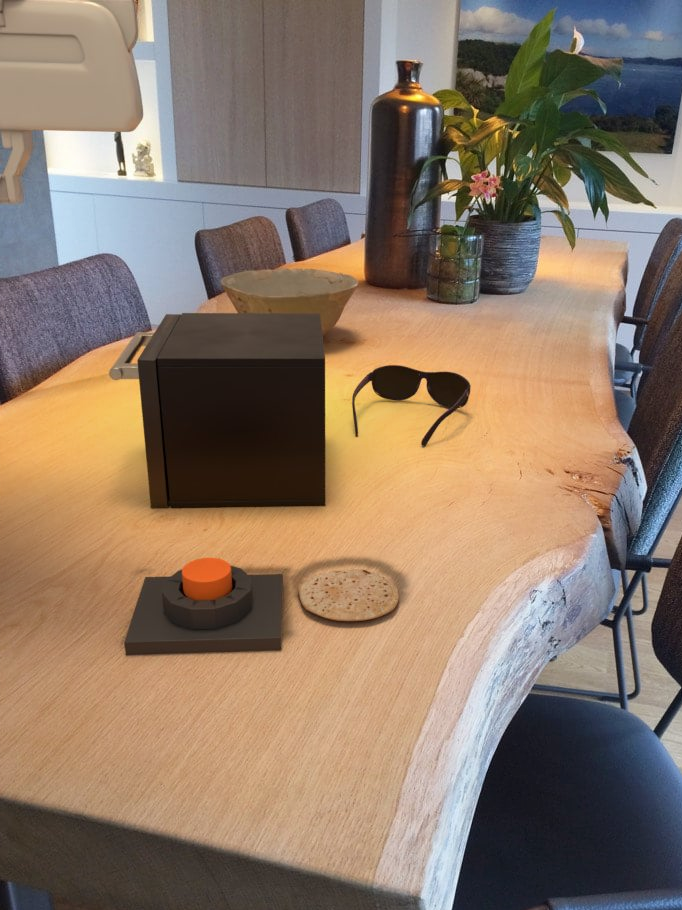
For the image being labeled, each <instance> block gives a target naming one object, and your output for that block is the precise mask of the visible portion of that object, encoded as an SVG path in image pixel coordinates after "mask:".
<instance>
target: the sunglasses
mask: <svg viewBox="0 0 682 910" xmlns="http://www.w3.org/2000/svg"><path fill="white" fill-rule="evenodd" d="M423 379H424V380H426V391H427V393H428V395H429V396H430V398H431V399H432V400H433V401H434V402H435V403H436V404H438V406H441V407H444V408H448V409H447V410H446V411H445V412H443V413H442V414H441V415H440V416H439V417H438V418H437V419H436V420H435V421H434V423H433V424H432V425H431V426H430V428H429V429H428V430H427V432H426V434H424V436H423V438H422V439H421V442H420V443H421V446H422V447H426V446H427V445H428V443H429V441H430V440H431V438H432V437H433V435H434V433H435V431H436V430H437V429H438V427H439V426H440V424H441V423H443V421H444V420H446V419H447V418H448V417H449V416H450V415H451V414H453V413H454V412H455V411H457V410H458V409H460V408H463V407H465V406H466V405H467V403H468V402H469V397H470V394H471V387H472V385H471V384H470V381H469V380H468V379H467V378H466V377H465V376H463V375H461V374H459V373H457V372H453V371H422V370H418V369H415V368H411V367H409V366H404V365H397V364H388V365H383V366H379V367H376V368H375V369H373V371H371V372H369V373H368V374H366V376H365V377H364V378H363V379H362V380H361V381H360V382H359V383H358V384H357V386H356V387H355V389H354V391H353V393H352V396H351V397H352V399H351V407H352V416H353V417H352V418H353V425H354V433H355V434H354V435H355V437H358V436H359V425H358V417H357V411H356V397H357V396H358V394H359V393H360V392H361V390H362V389H363V388H364V387H365V386H367V385H368V384H369V383H370V382H371V387H372V390H373V392H374V393H375V395H377V396H378V397H380V398H382V399H385V400H390V401H396V402H397V401H399V402H400V401H405V400H408V399H411V398H412V397H414V396H415V395H416V394H417V393H418V391H419V389H420V386H421V383H422V380H423Z"/></svg>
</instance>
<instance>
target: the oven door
mask: <svg viewBox="0 0 682 910" xmlns="http://www.w3.org/2000/svg"><path fill="white" fill-rule="evenodd" d="M181 314H182V313H181ZM181 314H180V313H179V314H178V313H176V314H175V313H166V314H165V315H164V317H163V319H162V320H161V322H160V323H159V325H158V327H156V330H155V331H154V332H143V331H137V332H135V334H134V335H133V336H132V338H131V339H130V341H129V342H128V344H127V345H126V347H125V348H124V349H123V351H122V352H121V353H120V355H119V357H118V358H117V360H116V361H115V362H114V364H113V365H112V366H111V368H110V369H109V371H108V376H109V377H110V379H111V380H113V381H118V380H138V383H139V393H140V404H141V405H140V406H141V415H142V416H141V417H142V426H143V427H142V428H143V436H144V447H145V459H146V470H147V481H148V491H149V502H150V509H168V508H169V506H170V498H169V487H168V476H167V465H166V454H165V443H164V432H163V421H162V410H161V399H160V388H159V378H158V366H157V357H158V356H159V354H160V352H161V350H162V348H163V347H164V345H165V343H166V341H167V339H168V338H169V336H170V334H171V332H172V330H173V329H174V327H175V325H176V323H177V321H178V320H179V318H180V316H181ZM142 347H144V349H143V350H142V351H141V353H140V355H139V356H138V358H137V360H136V361H137V362H135V363H133V360H134V359H135V358H136V356H137V354H138V353H139V351H140V350H141V348H142Z"/></svg>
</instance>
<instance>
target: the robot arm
mask: <svg viewBox="0 0 682 910" xmlns="http://www.w3.org/2000/svg"><path fill="white" fill-rule="evenodd" d="M138 38H139V21H138V10H137V4H136V1H135V0H0V137H1V143H2V147H3V148H4V149H12V150H11V152H10V154H9V157H8V160H7V163H6V165H5V168H4V171H3V173H0V204H17V205H18V204H22V203H24V200H25V196H24V189H23V182H22V181H23V179H22V175H23V174H24V172H25V169H26V167H27V164H28V162H29V160H30V157H31V155H32V153H33V151H34V148H35V146H34V140H33V132H32V131H54V132H55V131H57V132H58V131H60V132H99V133H100V132H102V133H103V132H104V133H108V132H109V133H131V132H134V131H135V130H137V128H138V127H139V125H140V124H141V122H142V120H143V118H144V105H143V98H142V92H141V91H142V90H141V86H140V80H139V75H138V70H137V66H136V65H137V64H136V60H135V56H134V53H133V49H134V48H135V46H136V44H137V42H138Z"/></svg>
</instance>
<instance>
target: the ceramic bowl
mask: <svg viewBox="0 0 682 910" xmlns="http://www.w3.org/2000/svg"><path fill="white" fill-rule="evenodd" d="M220 284H221V286H222V288H223V290H224V292H225V293H226V295H227V297H228V299H229V300H230V302H231V303H232V306H233V307H234V309H235V310H236V313H297V314H320V317H321V326H322V335H323V337H324V336H325V335H327V334H328V333H329V331H330V330H332V329H333V328H334V327H335V326H336V325H337V324H338V322H339V320H340V318H341V316H342V314H343V312H344V309H345V307H346V305H347V304H348V303H349V301H350V299H351V298H352V296H353V295H354V293H355V291H356V290H357V288H358V286H359V281H358V280H357V278H356V277H354V276H353V275H350V274H344V273H342V272H335V271H330V270H324V269H316V268H315V269H313V268H304V269H303V268H275V269H274V270H273V269H272V268H271V269H257V270H245V271H240V272H235V273H232V274H230V275H229V274H228V275H226V276H224V277H222V278H221V280H220Z"/></svg>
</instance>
